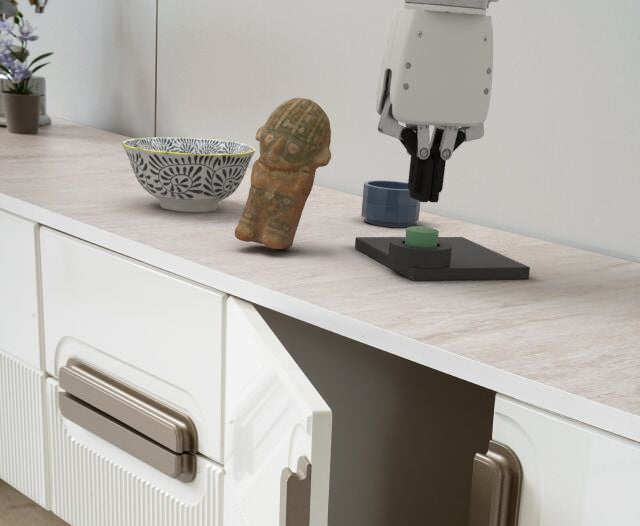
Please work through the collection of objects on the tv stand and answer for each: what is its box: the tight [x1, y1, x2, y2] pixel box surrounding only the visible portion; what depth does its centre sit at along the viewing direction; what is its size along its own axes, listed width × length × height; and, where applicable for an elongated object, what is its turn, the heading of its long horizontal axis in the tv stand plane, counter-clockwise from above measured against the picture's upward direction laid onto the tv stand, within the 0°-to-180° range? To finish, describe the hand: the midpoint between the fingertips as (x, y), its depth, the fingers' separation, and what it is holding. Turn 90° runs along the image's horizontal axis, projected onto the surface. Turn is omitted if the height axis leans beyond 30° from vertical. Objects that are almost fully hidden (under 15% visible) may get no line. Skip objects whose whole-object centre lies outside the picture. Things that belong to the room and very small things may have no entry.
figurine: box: [234, 97, 332, 251], centre depth 116 cm, size 8×8×15 cm
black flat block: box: [354, 236, 531, 282], centre depth 117 cm, size 14×15×3 cm
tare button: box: [404, 226, 440, 248], centre depth 111 cm, size 3×3×2 cm
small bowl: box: [360, 179, 421, 228], centre depth 137 cm, size 7×7×4 cm
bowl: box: [121, 136, 257, 213], centre depth 136 cm, size 16×16×8 cm
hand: (423, 199), depth 109 cm, fingers closed
